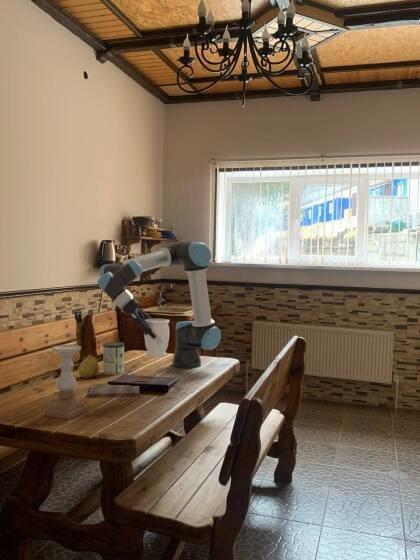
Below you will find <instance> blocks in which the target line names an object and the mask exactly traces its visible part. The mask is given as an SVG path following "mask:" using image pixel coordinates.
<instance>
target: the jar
mask: <svg viewBox="0 0 420 560" xmlns="http://www.w3.org/2000/svg"><path fill="white" fill-rule="evenodd" d="M145 321H146V322H147V324H148V325H149V327H150V328H151V331H152V330H154V332H155V333H156V334H157V335H158V336H159V337H160V338H161V339H162V340H163V342H162V343H161V344H160V345H159V346H158V345H157V344H156V343H155V342H154V340H153V339H152V338H151V337H150V336H149V335H148V334H147V335H145V333H144V332H143V336H144V338H143V339H144V344H145V348H146V351H147V352H146V356H148V357H154V358H158V357H159V358H160V357H161V358H162V357H165V356H167V352H166V351H167V349H168V346H169V340H170V325H169V323H170V319H167V318H152V319H146V320H145Z"/></svg>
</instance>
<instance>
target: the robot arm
mask: <svg viewBox="0 0 420 560" xmlns="http://www.w3.org/2000/svg"><path fill="white" fill-rule="evenodd" d="M211 259H212V252H211V249H210V248H209V246H208V245H207V244H205V243H204V242H201V241H200V242H199V241H180V242H177V243H173V244H170V245H168V246H163V247H161V248H160V249H159V250H158V251H153V252H150V253H147V254H143V255H140V256H139V255H138V256H136V257H133V258H130V259H126V260H125V259H124V260H121V261H119V262H114V263H107V264H103V265H102V266H101V267H100V269H99V276H100V278H98V280H97V286H98V287H99V288H100V290H102V292H104V294H106V296H108V297H109V299H111V300H112V302H114V303H115V305H114V306H117V307H118V308H119V309H121V311H122V312H123V313H124V314H125V316H129V315H130V318H131V319H132V320H133V321H134V322H135V323H136V325H137V326H138V327H139V328H140V330H141V331H142V332H143V334H144V333H145V335H147V334H148V335H149V336H150V337H151V338H152V339H153V340H154V342H155V343H156V344H157V345H158V346H159V345H160V344H161V343H162V342H163V340H162V339H161V338H160V337H159V336H158V335H157V334H156V333H155V332H154V330H152V331H151V328H150V327H149V325H148V324H147V322H146V321H145V320H146V319H153V318H152V317H151V316H150V315H149V314H148V313H147V312H146V311H145V310H144V309H143V308H141V309H140V308H139V306H140V301H138V299H136V297H134V295H133V294H132V293H131V292H130V291H129V290H128V289H127V288H126V287H127V286H128V285H129V284H131V283H132V282H133V281H135V280H136V279H138V278H139V277H140V276H141V274H142V273H143V272H147V271H151V270H153V269H158V268H160V267H171V266H182V267H183V270H184V272H185V273H186V274H187V277H188V283H189V285H188V286H189V292H190V299H191V308H192V313H193V314H192V315H193V320H187V321H186V320H185V321H179V322H177V323H176V325H175V350H174V354H173V356H172V357H173V358H172V361H171V365H172V366H173V367H175V368H179V369H180V368H181V369H189V368H191V369H192V368H193V369H194V368H198V367H200V366H202V360H201V356H200V353H199V350H198V349H202V350H214V349H216V348H217V347H218V346H219V343H220V342H221V339H222V332H221V329H219V327H217V326H216V321H215V320H214V319H213V318H212V315H211V314H212V313H211V307H210V297H209V290H208V283H207V275H206V271H207V270H208V269H209V266H208V265H209V264H210V262H211Z"/></svg>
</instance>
